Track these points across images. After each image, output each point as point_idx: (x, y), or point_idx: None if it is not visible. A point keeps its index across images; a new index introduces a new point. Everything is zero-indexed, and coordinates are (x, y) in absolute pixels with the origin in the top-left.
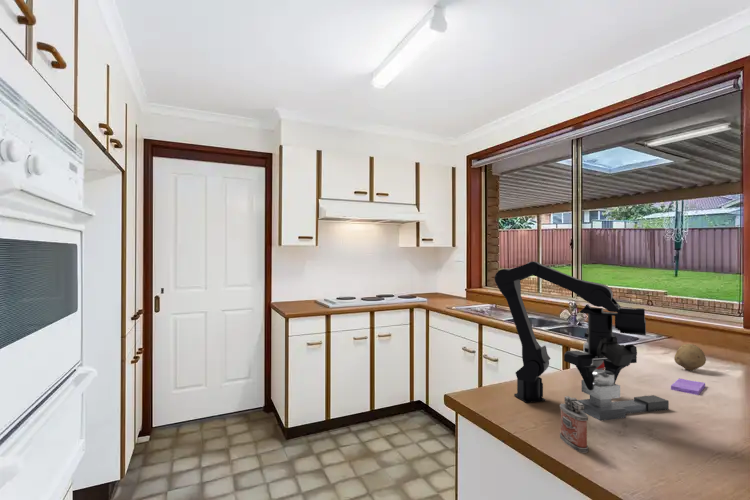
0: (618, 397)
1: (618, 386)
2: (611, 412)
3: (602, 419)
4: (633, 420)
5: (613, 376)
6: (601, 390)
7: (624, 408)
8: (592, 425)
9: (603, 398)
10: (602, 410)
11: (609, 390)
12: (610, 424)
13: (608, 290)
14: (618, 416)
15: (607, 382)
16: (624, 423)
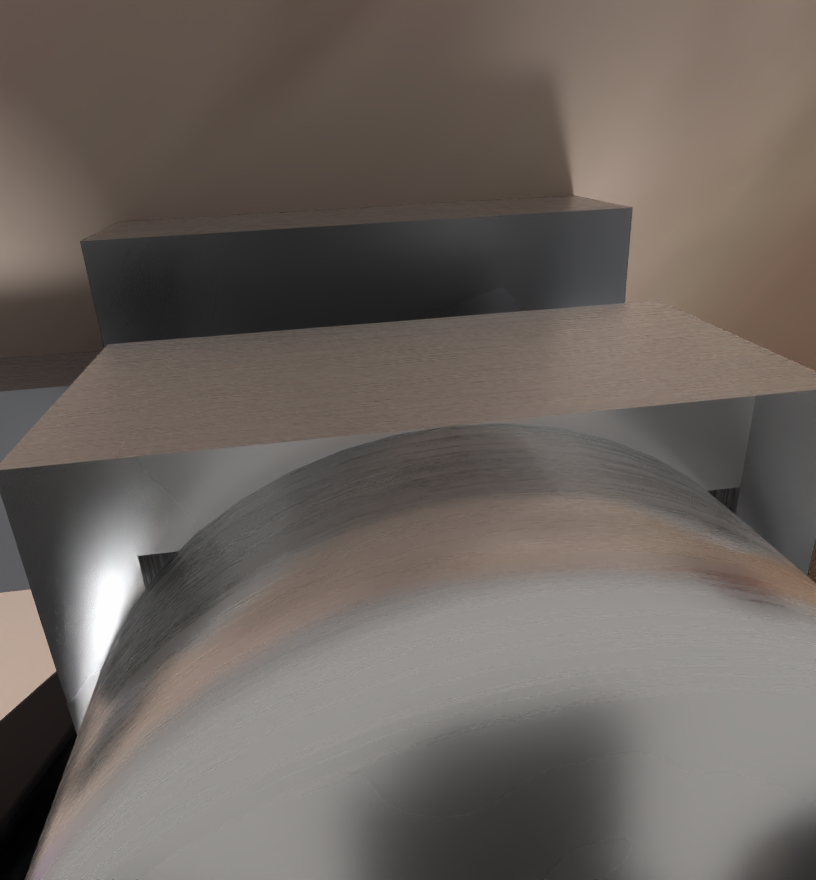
0: (161, 341)
1: (85, 451)
2: (396, 215)
3: (541, 197)
4: (55, 107)
5: (241, 749)
6: (733, 361)
7: (100, 244)
8: (802, 67)
9: (580, 312)
10: (567, 229)
11: (453, 379)
12: (537, 42)
13: None
14: (254, 215)
15: (608, 492)
16: (296, 28)
